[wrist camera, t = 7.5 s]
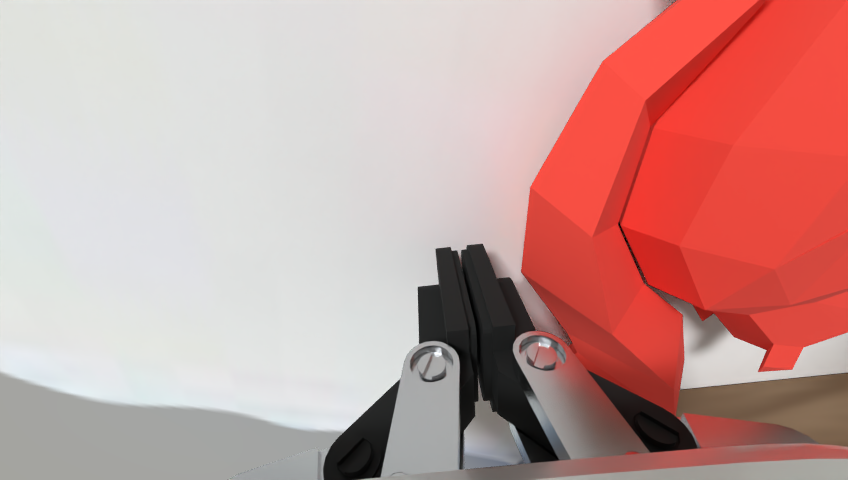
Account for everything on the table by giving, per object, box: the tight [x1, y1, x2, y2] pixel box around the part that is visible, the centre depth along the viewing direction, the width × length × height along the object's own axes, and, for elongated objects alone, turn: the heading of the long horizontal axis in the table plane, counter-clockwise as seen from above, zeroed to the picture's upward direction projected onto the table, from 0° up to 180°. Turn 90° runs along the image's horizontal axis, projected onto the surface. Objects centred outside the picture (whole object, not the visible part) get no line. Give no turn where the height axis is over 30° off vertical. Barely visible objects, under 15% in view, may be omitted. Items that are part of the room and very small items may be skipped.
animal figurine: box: [521, 0, 848, 416], centre depth 10 cm, size 12×15×5 cm
